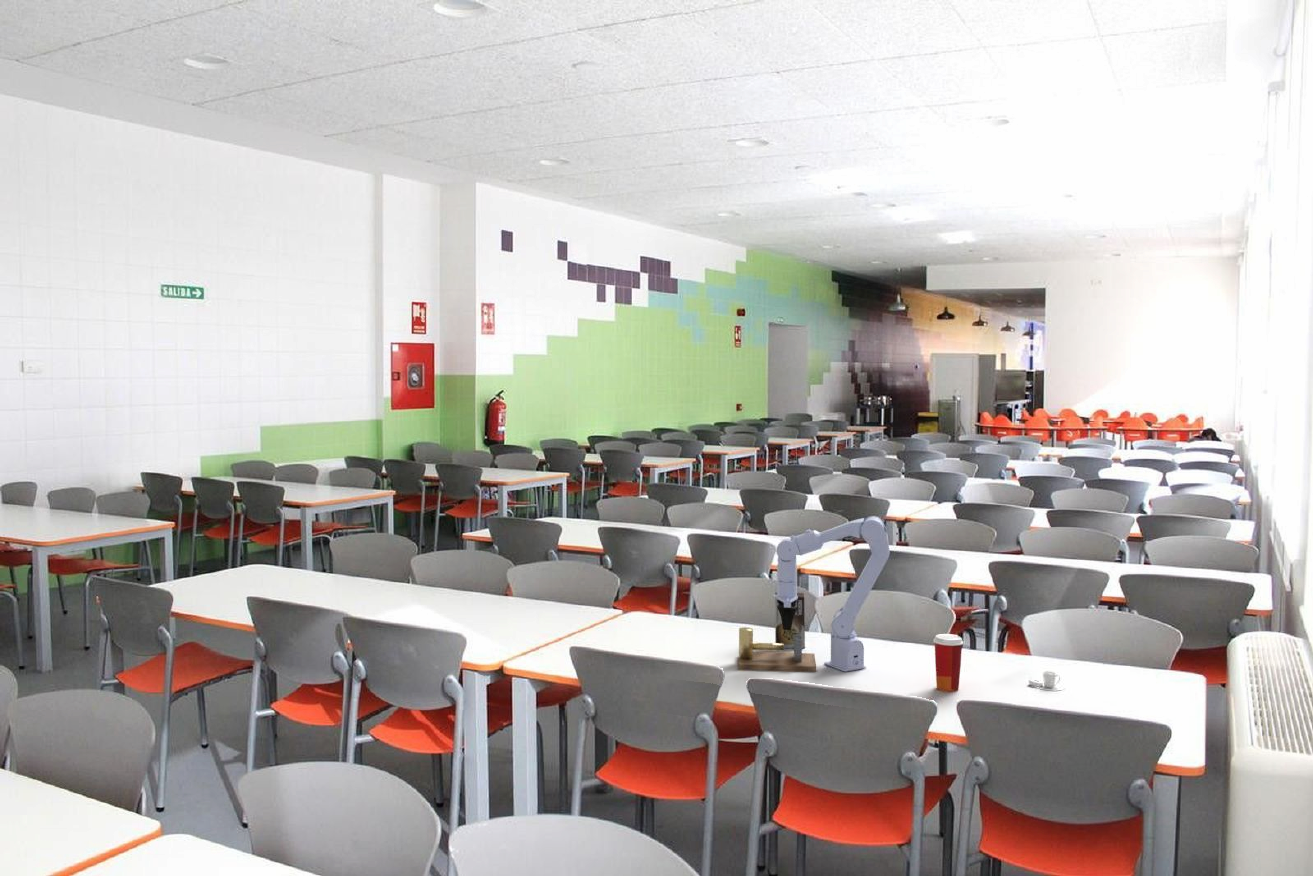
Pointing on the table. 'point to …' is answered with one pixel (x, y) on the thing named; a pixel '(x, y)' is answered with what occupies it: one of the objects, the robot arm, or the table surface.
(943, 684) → the paper cup
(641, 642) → the table surface
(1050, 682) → the teacup and saucer
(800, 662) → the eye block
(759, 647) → the gold cylinder with rod
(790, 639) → the coffee box
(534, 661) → the table surface
